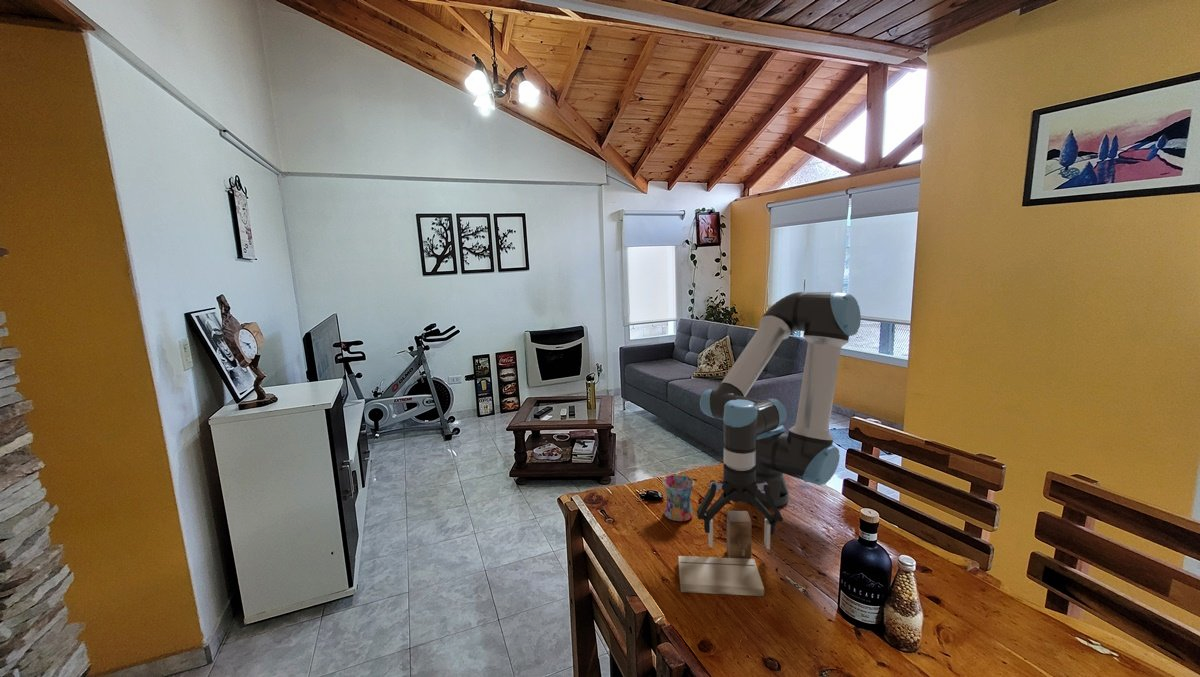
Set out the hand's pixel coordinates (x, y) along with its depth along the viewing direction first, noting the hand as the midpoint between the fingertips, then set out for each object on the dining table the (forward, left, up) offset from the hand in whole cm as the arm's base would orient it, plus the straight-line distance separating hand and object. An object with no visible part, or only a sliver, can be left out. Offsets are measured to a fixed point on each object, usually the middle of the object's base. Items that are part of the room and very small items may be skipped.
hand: (738, 545), depth 112 cm
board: (+6, +8, -3) cm, 11 cm away
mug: (+13, -20, -4) cm, 24 cm away
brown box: (0, +2, -3) cm, 4 cm away
